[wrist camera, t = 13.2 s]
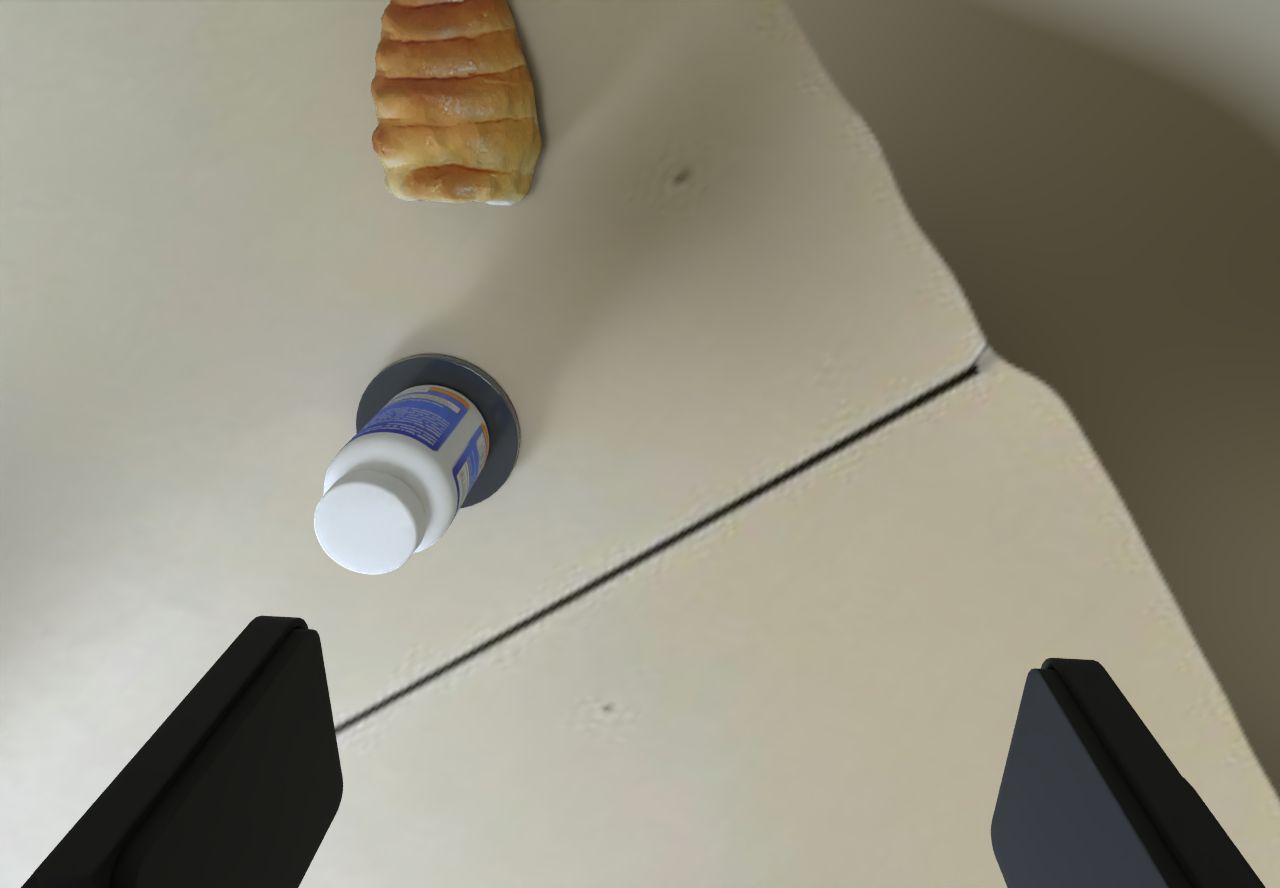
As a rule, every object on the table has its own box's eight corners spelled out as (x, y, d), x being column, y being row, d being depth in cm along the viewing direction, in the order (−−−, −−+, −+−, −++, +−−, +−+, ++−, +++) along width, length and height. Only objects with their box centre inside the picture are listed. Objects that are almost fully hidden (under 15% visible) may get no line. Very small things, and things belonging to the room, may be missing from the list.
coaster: (351, 351, 39) (346, 354, 39) (516, 356, 39) (514, 360, 38) (369, 501, 42) (365, 506, 42) (523, 507, 42) (521, 513, 41)
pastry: (369, -41, 33) (331, -59, 29) (537, -44, 32) (518, -61, 29) (397, 203, 36) (365, 213, 33) (548, 203, 36) (533, 214, 32)
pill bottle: (360, 417, 40) (261, 509, 31) (446, 360, 38) (369, 438, 29) (429, 503, 41) (355, 614, 32) (514, 451, 40) (461, 552, 31)
